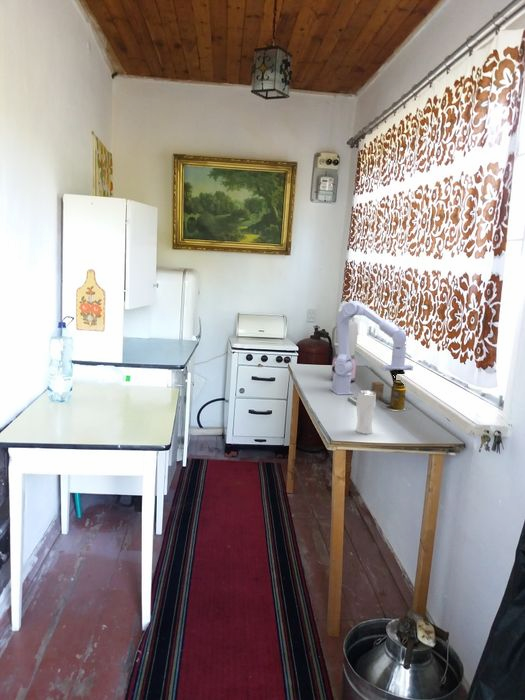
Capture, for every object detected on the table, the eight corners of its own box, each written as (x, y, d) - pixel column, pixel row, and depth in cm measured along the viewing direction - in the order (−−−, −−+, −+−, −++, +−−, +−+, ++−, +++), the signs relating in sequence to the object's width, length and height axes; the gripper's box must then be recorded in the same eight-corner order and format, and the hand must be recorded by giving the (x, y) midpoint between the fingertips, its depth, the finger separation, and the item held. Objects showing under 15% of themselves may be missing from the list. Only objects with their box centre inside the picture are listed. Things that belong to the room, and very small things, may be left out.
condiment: (408, 409, 228) (410, 382, 226) (394, 411, 223) (397, 384, 221) (395, 404, 234) (398, 378, 232) (382, 407, 229) (384, 380, 227)
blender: (344, 376, 283) (348, 318, 277) (359, 382, 273) (364, 321, 267) (321, 379, 275) (325, 319, 269) (337, 385, 265) (341, 322, 259)
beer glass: (351, 431, 196) (354, 392, 193) (358, 427, 201) (362, 389, 198) (368, 435, 192) (372, 396, 189) (376, 431, 197) (379, 392, 195)
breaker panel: (347, 400, 238) (347, 395, 238) (363, 399, 240) (363, 394, 240) (357, 406, 229) (357, 401, 228) (373, 405, 231) (374, 400, 230)
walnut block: (370, 396, 246) (372, 382, 245) (378, 396, 247) (379, 381, 246) (374, 398, 242) (376, 384, 241) (382, 398, 243) (383, 383, 242)
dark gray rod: (378, 399, 242) (378, 396, 242) (380, 399, 242) (381, 396, 242) (388, 404, 233) (388, 402, 233) (390, 404, 233) (391, 402, 233)
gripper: (388, 358, 229) (385, 388, 232) (417, 358, 233) (414, 387, 236) (380, 355, 236) (378, 384, 239) (409, 355, 240) (406, 383, 243)
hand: (395, 385), depth 238 cm, fingers closed
